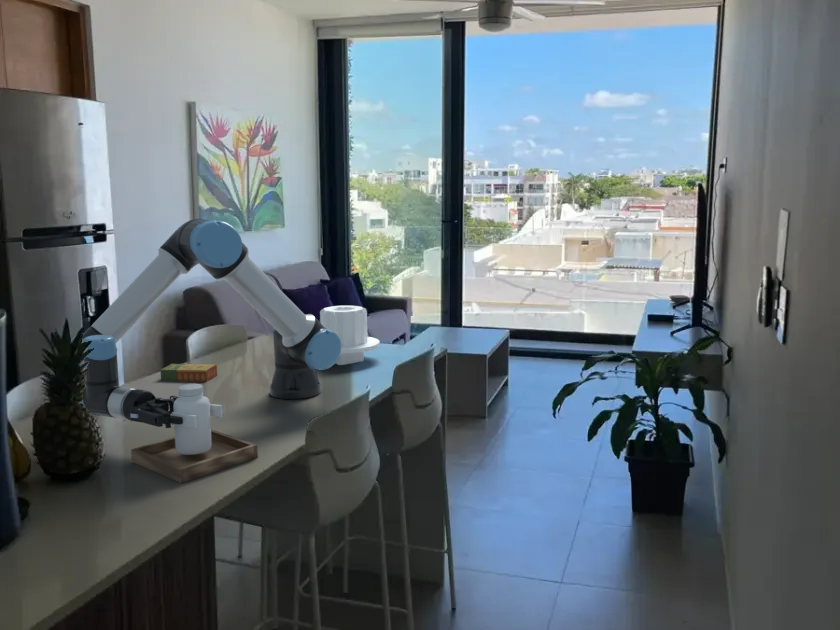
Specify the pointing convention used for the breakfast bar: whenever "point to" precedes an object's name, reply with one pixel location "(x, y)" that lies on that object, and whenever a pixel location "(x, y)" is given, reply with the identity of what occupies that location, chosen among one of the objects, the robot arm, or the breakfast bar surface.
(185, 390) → the pill bottle
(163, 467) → the tray
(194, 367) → the carton
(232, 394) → the breakfast bar surface
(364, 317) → the flanged gear
